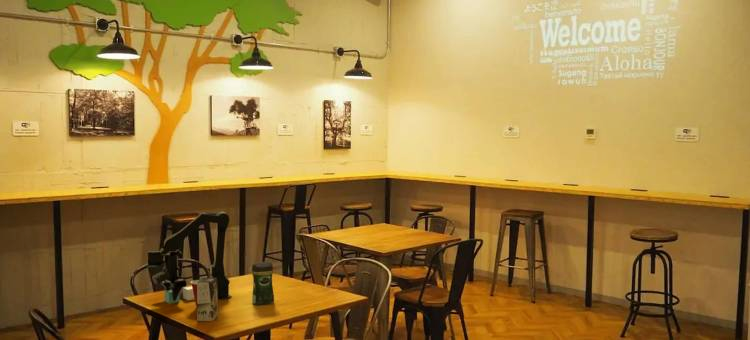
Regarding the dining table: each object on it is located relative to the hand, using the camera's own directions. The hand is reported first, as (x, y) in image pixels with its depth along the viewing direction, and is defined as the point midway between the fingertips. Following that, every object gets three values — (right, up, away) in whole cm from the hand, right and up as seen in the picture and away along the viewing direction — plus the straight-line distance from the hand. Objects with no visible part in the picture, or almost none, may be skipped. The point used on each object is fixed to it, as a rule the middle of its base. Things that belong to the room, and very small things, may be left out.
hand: (172, 299), depth 309 cm
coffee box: (+23, -3, -27) cm, 35 cm away
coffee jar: (+42, -1, -3) cm, 42 cm away
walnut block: (+1, -1, +10) cm, 10 cm away
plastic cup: (+17, -2, -10) cm, 20 cm away
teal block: (0, -1, 0) cm, 1 cm away
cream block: (+7, -1, +6) cm, 9 cm away
